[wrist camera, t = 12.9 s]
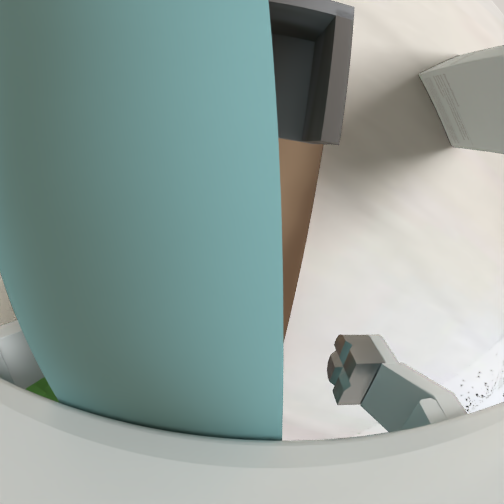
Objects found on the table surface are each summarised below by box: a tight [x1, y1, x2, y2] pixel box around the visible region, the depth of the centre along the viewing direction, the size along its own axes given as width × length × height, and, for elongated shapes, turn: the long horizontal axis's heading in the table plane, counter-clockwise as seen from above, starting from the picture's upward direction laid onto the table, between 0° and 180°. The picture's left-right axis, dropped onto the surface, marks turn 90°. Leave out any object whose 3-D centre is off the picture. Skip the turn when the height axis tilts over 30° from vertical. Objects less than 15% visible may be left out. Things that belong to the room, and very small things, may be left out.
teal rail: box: [0, 0, 283, 441], centre depth 8 cm, size 4×20×6 cm, turn 3°
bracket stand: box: [268, 0, 354, 343], centre depth 16 cm, size 12×28×13 cm, turn 172°
